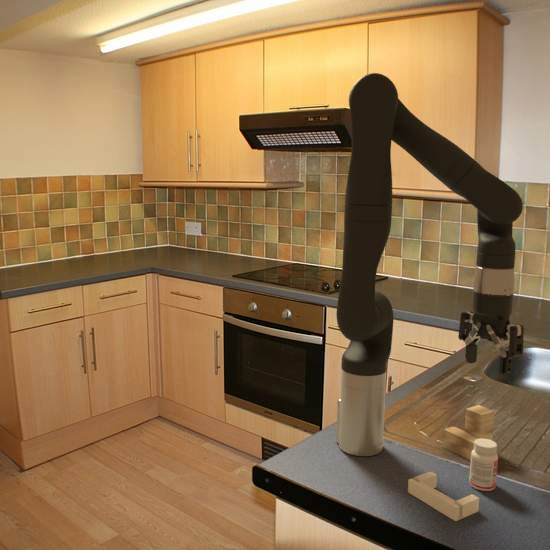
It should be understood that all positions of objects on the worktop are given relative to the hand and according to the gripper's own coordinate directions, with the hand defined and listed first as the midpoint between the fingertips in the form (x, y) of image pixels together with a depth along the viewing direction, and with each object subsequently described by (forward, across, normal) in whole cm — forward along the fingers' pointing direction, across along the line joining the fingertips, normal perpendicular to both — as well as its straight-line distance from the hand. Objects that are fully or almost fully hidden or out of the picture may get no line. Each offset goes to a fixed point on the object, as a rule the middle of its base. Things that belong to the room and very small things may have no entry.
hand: (487, 368), depth 121 cm
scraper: (+19, -2, 0) cm, 19 cm away
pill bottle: (+19, +9, -9) cm, 23 cm away
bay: (+19, +10, -20) cm, 29 cm away
